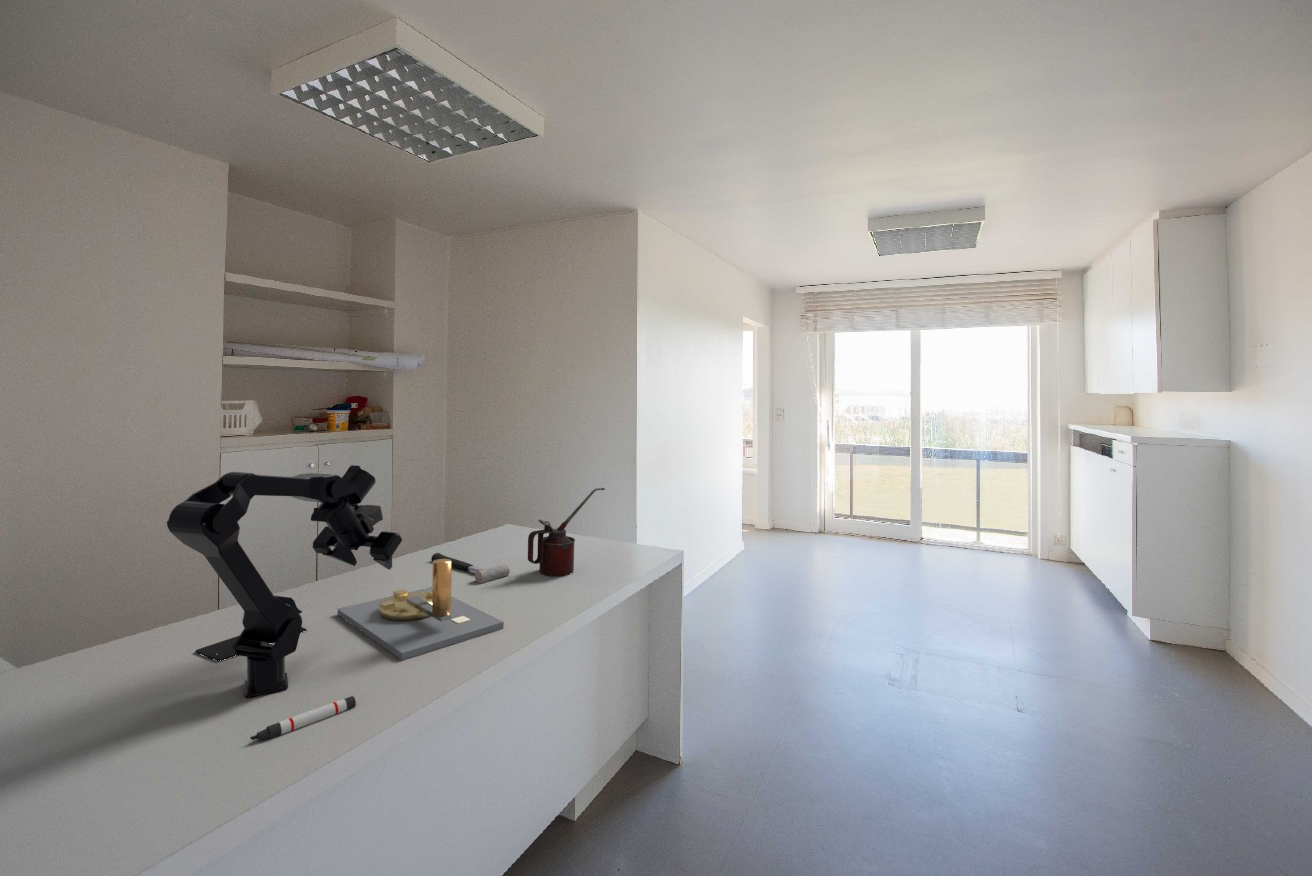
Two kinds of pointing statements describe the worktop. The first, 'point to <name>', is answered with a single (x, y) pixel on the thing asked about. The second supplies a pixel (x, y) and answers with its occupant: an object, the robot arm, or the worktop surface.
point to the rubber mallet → (477, 569)
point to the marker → (305, 718)
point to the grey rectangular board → (419, 627)
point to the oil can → (555, 547)
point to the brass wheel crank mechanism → (422, 598)
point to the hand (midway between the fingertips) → (372, 566)
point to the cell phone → (223, 649)
